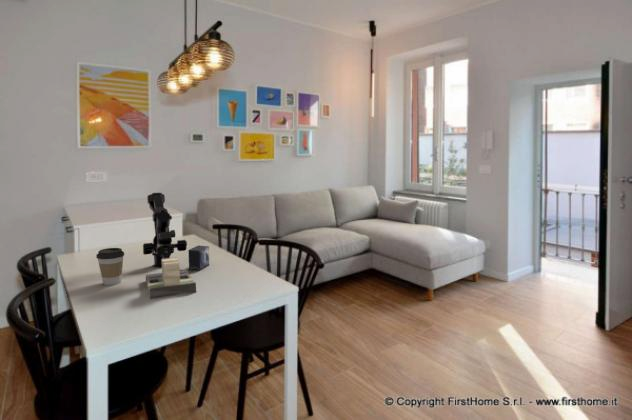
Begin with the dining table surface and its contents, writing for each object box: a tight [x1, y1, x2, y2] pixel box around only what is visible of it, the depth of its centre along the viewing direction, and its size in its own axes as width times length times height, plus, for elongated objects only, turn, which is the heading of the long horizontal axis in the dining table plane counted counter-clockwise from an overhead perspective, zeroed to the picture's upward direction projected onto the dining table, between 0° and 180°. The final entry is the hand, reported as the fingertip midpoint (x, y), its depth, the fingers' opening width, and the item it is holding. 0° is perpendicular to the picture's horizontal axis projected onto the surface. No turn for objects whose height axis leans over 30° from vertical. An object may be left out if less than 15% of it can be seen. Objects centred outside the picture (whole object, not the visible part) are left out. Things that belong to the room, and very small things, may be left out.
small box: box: [188, 245, 210, 272], centre depth 204 cm, size 11×6×10 cm, turn 168°
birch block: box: [161, 256, 180, 286], centre depth 170 cm, size 9×6×10 cm, turn 26°
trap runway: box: [145, 269, 197, 300], centre depth 176 cm, size 25×18×4 cm
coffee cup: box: [95, 247, 125, 286], centre depth 180 cm, size 11×11×15 cm
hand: (167, 263), depth 181 cm, fingers closed
